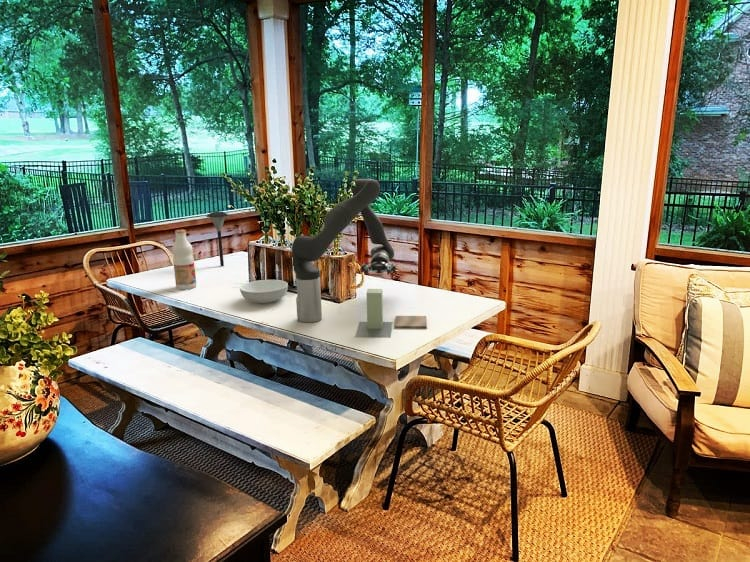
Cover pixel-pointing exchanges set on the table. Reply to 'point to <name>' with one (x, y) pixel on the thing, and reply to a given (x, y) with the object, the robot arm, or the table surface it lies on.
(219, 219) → the solar garden light
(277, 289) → the serving bowl
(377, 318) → the sage block
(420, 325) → the walnut pad
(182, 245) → the fruit juice
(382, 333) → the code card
